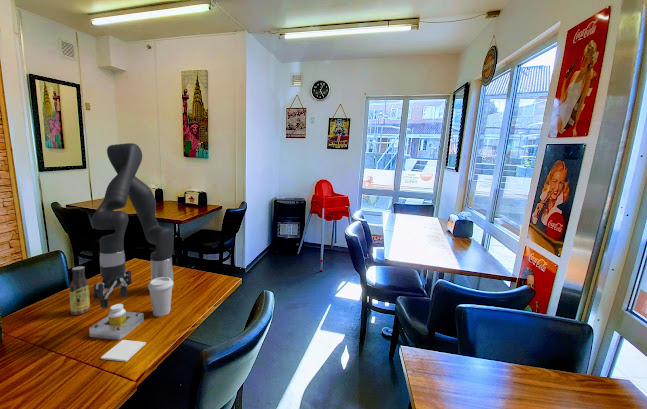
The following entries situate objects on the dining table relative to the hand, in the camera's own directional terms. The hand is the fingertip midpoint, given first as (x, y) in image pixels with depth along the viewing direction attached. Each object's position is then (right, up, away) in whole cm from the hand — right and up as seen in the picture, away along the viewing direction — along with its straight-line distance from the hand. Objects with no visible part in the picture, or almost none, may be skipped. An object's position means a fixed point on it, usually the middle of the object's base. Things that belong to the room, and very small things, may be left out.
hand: (114, 301), depth 103 cm
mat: (+11, -14, -9) cm, 20 cm away
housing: (0, -11, +2) cm, 12 cm away
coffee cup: (+10, -10, +14) cm, 20 cm away
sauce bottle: (-24, -9, +11) cm, 27 cm away
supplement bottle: (0, -12, +2) cm, 12 cm away
